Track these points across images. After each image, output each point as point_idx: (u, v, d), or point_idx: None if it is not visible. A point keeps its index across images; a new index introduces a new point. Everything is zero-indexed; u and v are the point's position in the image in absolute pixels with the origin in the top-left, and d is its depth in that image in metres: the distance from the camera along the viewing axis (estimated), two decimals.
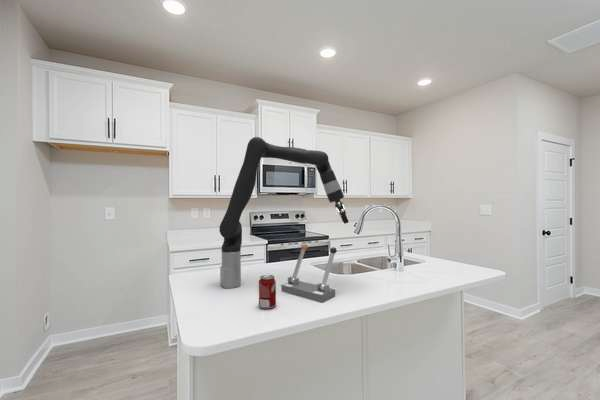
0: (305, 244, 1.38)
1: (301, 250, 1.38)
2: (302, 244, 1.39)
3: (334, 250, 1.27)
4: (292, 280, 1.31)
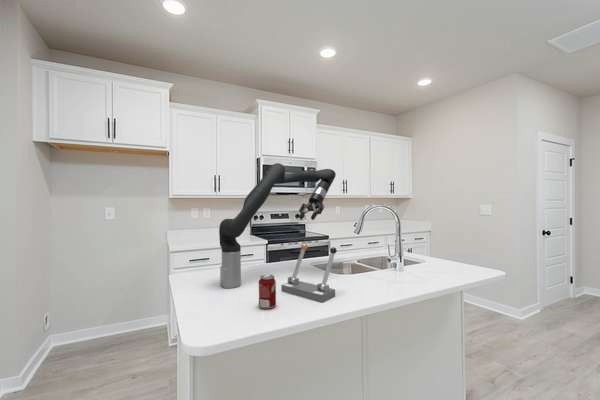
0: (305, 244, 1.38)
1: (301, 250, 1.38)
2: (302, 244, 1.39)
3: (334, 250, 1.27)
4: (292, 280, 1.31)
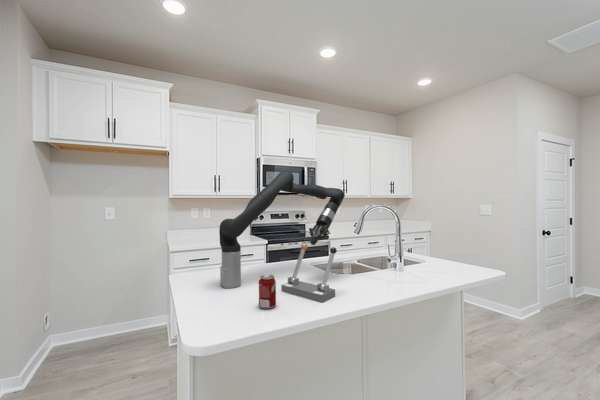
0: (305, 244, 1.38)
1: (301, 250, 1.38)
2: (302, 244, 1.39)
3: (334, 250, 1.27)
4: (292, 280, 1.31)
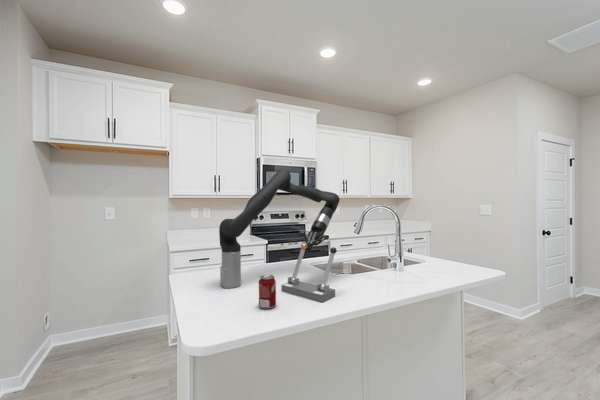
0: (305, 244, 1.38)
1: (301, 250, 1.38)
2: (302, 244, 1.39)
3: (334, 250, 1.27)
4: (292, 280, 1.31)
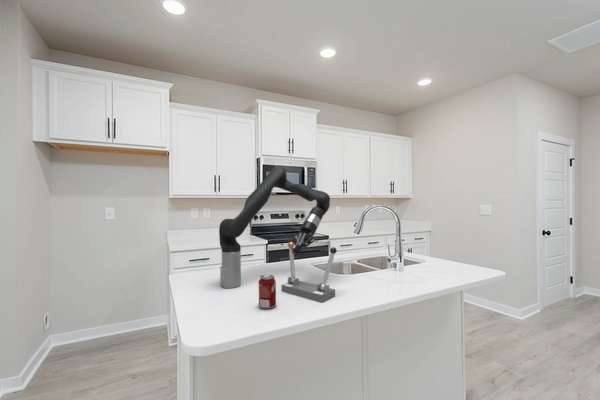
0: (291, 243, 1.30)
1: (289, 249, 1.31)
2: (288, 243, 1.31)
3: (334, 250, 1.27)
4: (292, 281, 1.31)
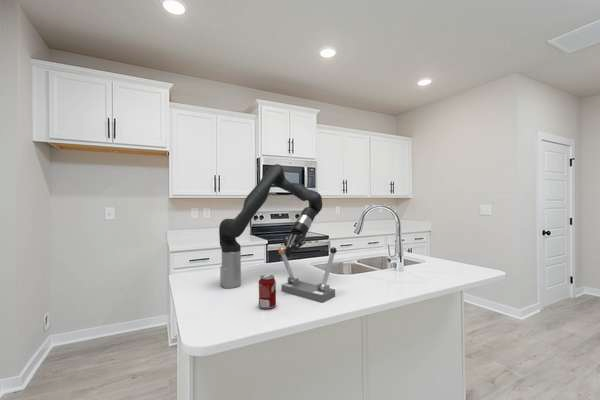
0: (281, 250, 1.25)
1: (281, 255, 1.27)
2: (278, 251, 1.26)
3: (334, 250, 1.27)
4: (292, 282, 1.31)
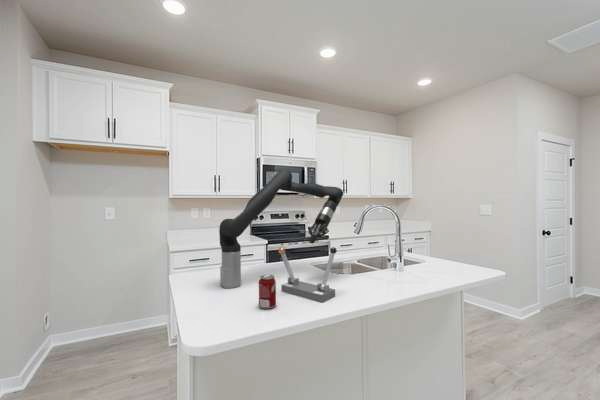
0: (281, 250, 1.25)
1: (281, 255, 1.27)
2: (278, 251, 1.26)
3: (334, 250, 1.27)
4: (292, 282, 1.31)
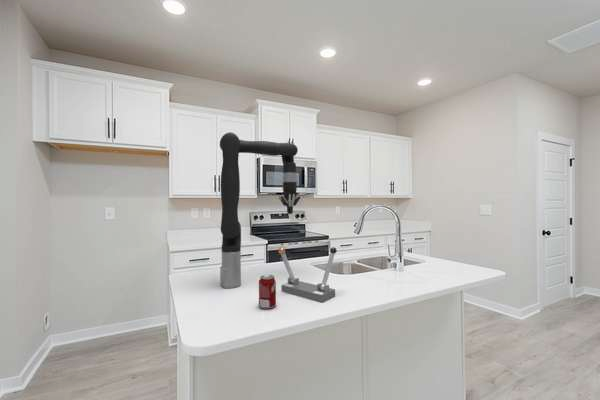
0: (281, 250, 1.25)
1: (281, 255, 1.27)
2: (278, 251, 1.26)
3: (334, 250, 1.27)
4: (292, 282, 1.31)
